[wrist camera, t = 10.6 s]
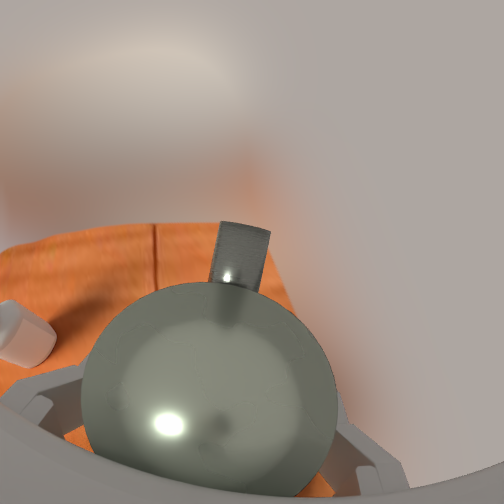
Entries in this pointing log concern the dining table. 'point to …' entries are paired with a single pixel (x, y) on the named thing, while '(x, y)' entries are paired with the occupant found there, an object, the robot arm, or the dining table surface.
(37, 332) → the eye dropper bottle
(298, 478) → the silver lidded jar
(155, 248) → the dining table surface
